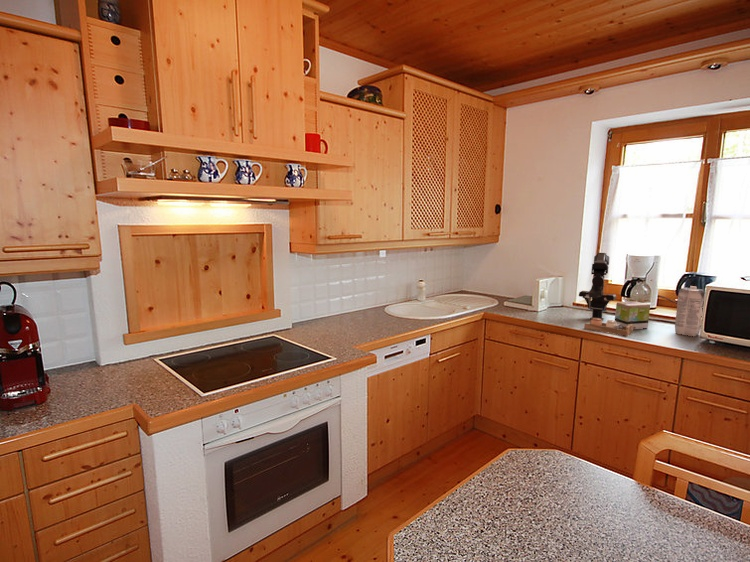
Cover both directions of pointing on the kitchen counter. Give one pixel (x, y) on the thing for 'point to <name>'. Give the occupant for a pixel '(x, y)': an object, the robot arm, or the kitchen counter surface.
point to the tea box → (632, 314)
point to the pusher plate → (619, 326)
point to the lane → (610, 329)
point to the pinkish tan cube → (596, 321)
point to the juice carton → (689, 311)
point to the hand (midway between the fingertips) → (596, 309)
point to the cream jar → (611, 324)
